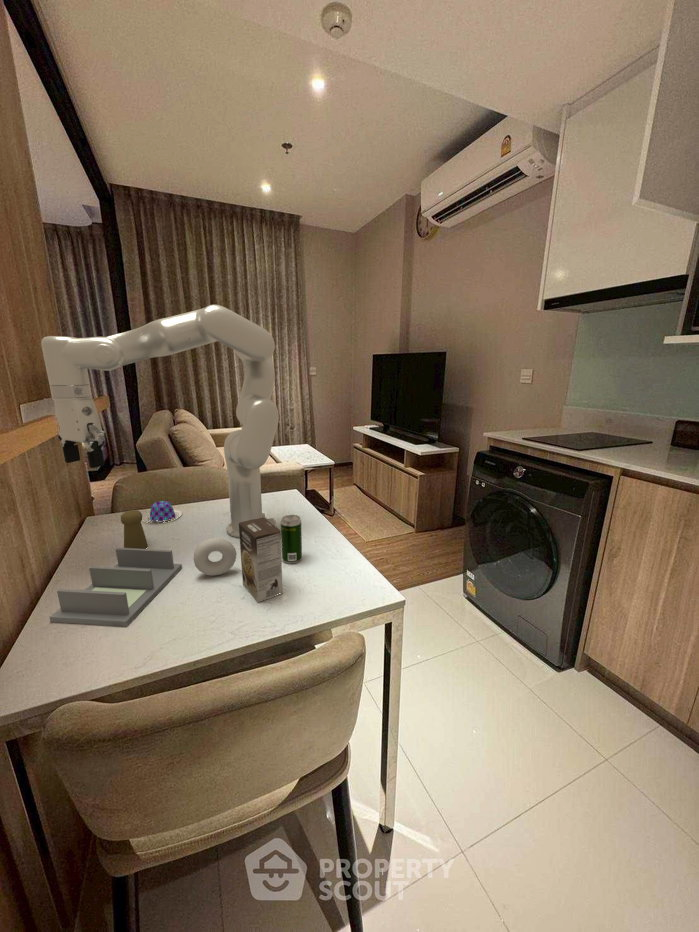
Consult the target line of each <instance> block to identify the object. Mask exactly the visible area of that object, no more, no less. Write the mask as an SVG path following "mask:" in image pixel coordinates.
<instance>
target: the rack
mask: <svg viewBox="0 0 699 932" xmlns="http://www.w3.org/2000/svg"><path fill="white" fill-rule="evenodd" d="M115 554H116V559H117V564H115V565H114V566H99V565H98V566H97V565H91V566H90V567H89V568H88V569H89V574H90V579H91V584H89V585H88V586H87V587H86V588H84V589H72V588H70V589H69V588H59V589H58V590H57V591H56V593H57V597H58V602H59V607H60V608H59V609H57V611H55V612H54V613H52V614H51V615H50V616H49V622H50V623H57V624H58V623H60V624H61V623H62V624H75V625H76V624H77V625H93V626H95V625H96V626H107V627H109V626H110V627H125V628H127V627H128V626H129V625H130V624H131V623H132V622H133V621H134V619H136V618H137V616H138V615H140V614H141V612H142V611H143V610H144V609H145V608H146V607H147V606H148V605H149V604H150V603H151V602H152V601H153V600H154V598H155V597H157V595H159V593H160V592H161V591H162V590H163V589H164V588H165V587H167V585H168V584H169V583H170V582H171V581H172V580H173V579H174V577H176V575H177V574H178V573H179V572H180V571H181V570H182V569H183V564H182V563H174V555H173V549H158V548H157V549H153V548H147V549H137V548H124V547H117V548H115Z"/></svg>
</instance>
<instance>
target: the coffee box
mask: <svg viewBox="0 0 699 932" xmlns="http://www.w3.org/2000/svg"><path fill="white" fill-rule="evenodd" d="M238 524H239V536H240V538H239V548H240V559H241V573H242V574H241V575H242V576H241V577H242V584H243V586H244V588H246V590H247V591H248V592H249V593H250V595H251V596H252V597H253V598H254V599H256V600H255V601H256V602H257V603H258V602H259V603H262V602H264V601H267V600H269V599H271V598H270V597H272V598H274V597H273V596H275V595H277V594H279V593H282V594H283V569H282V567H283V564H282V562H283V559H282V544H281V528H280V529H279V528H278V527H277V526H276V525H275V526H274V525H273V524H272V523H270V522H269V521H268V520H267V519H265V518H264V517H262V518H258V519H252V520H248V521H244V522H240V523H238ZM277 596H278V595H277ZM275 597H276V596H275ZM268 598H269V599H268ZM266 599H267V600H266ZM263 600H264V601H263ZM261 601H262V602H261Z"/></svg>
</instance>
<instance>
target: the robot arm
mask: <svg viewBox="0 0 699 932" xmlns="http://www.w3.org/2000/svg"><path fill="white" fill-rule="evenodd" d="M216 342H218V343H220V344H223V345H224V346H227V347H228V348H230V349H232V350H233V351H234V353H235V354H236V355H237V357H238V358H239V359H240V360H241V362H242V364H243V368H244V378H243V384H242V387H241V392H240V395H239V398H238V401H237V402H238V403H237V404H236V408H235V410H236V411H235V414H236V415H235V416H236V418H237V420H238V421H239V423H241V424H242V426H241V429H237V430H233V431H232V432H230V433H229V434H228V435H227V436H226V438H225V440H224V443H223V453H224V458H225V464H226V469H227V470H226V471H227V481H228V483H227V484H228V497H229V498H228V499H229V511H230V523H229V524H228V525H227V526H226V533H227V534H228V535H229V536H232V537H234V538H239V539H240V536H239V524H238V523H240V522H244V521H248V520H252V519H258V518H262V517H264V518H265V519H267V520H268V521H269V522H270V523H272V524H273V525H274V526H276V525H277V522H276V520H275V518H273V517H267V516H266V513H265V512H263V505H262V503H263V502H262V487H261V486H262V485H261V479H262V478H261V469H260V468H261V467H263V465H265V464H266V463H267V460H268V459H269V456H270V453H271V450H272V449H273V448H272V447H273V444H274V441H275V438H276V437H275V436H276V433H277V430H278V424H279V419H280V418H279V410H278V407H277V406H276V404H275V403H274V402H273V400H272V399H271V397H272V396H273V395H272V394H273V389H274V385H275V380H276V379H275V377H276V374H275V372H276V371H275V367H274V364H273V360H272V356H273V355H274V351H275V348H276V344H275V340H274V337H273V336H272V335H271V334H270V332H269V331H268V330H267V329H265V328H264V327H262V326H260V325H258V324H256V323H254V322H252V321H251V320H249V319H247V318H245V317H244V316H242V315H240V314H238V313H236V312H235V311H233V310H231V309H229V308H227V307H225V306H223V305H219V304H210V305H207V306H205V307H203V308H198V309H196V310H192V311H188V312H184V313H180V314H176V315H172V316H168V317H163V318H158V319H155V320H153V321H150V322H148V323H147V324H144V325H143V326H140V327H137V328H134V329H131V330H126V331H124V332H121V333H120V332H119V333H115V334H111V335H108V336H90V337H74V336H65V335H63V336H62V335H61V336H60V335H59V336H58V335H56V336H54V335H49V336H44V337H43V338H42V339H41V342H40V344H41V350H42V354H43V360H44V364H45V369H46V373H47V379H48V383H49V389H50V394H51V398H52V399H51V400H53V401H54V413H55V418H56V417H57V420H58V423H59V427H60V433H59V434H58V433H57V435H58V436H57V438H58V439H59V440H60V446H61V447H62V451H63V457H64V462H65V463H66V464H69V463H75V462H80V461H81V456H80V450H79V445H78V444H76V443H81V444H83V445H84V446H85V448H86V449H87V450H88V451H86V455H87V459H88V467H89V468H90V469H95V468H99V467H103V466H105V464H106V463H105V460H104V452H103V450H104V444H105V441H104V438H105V433H104V432H103V430H102V425H101V424H102V423H101V420H100V417H99V416H100V415H99V412H98V409H97V407H96V404H95V401H94V398H93V395H92V390H91V382H90V377H89V372H88V369H89V370H90V369H91V370H99V371H104V372H105V371H107V372H108V371H113V370H116V369H118V368H119V367H123V366H127V365H129V364H134V363H137V362H141V361H144V360H149V359H151V358H158V357H160V358H161V357H167V356H170V355H175V354H178V353H181V352H185V351H188V350H192V349H195V348H199V347H202V346H205V345H206V346H207V345H208V344H213V343H216ZM91 443H92V444H91Z"/></svg>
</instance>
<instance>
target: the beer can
mask: <svg viewBox="0 0 699 932" xmlns="http://www.w3.org/2000/svg"><path fill="white" fill-rule="evenodd" d="M280 530H281V555H282V562H284V564H287V563H289V564H288V565H293V564H292V563H295V564H298V563H299V562H301V560H302V558H303V544H302V543H303V541H302V539H303V537H302V535H303V534H302V520H301V517H300V516H299V515H297V514H287V515H284V516H282V517H281V521H280ZM297 562H298V563H297Z"/></svg>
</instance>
